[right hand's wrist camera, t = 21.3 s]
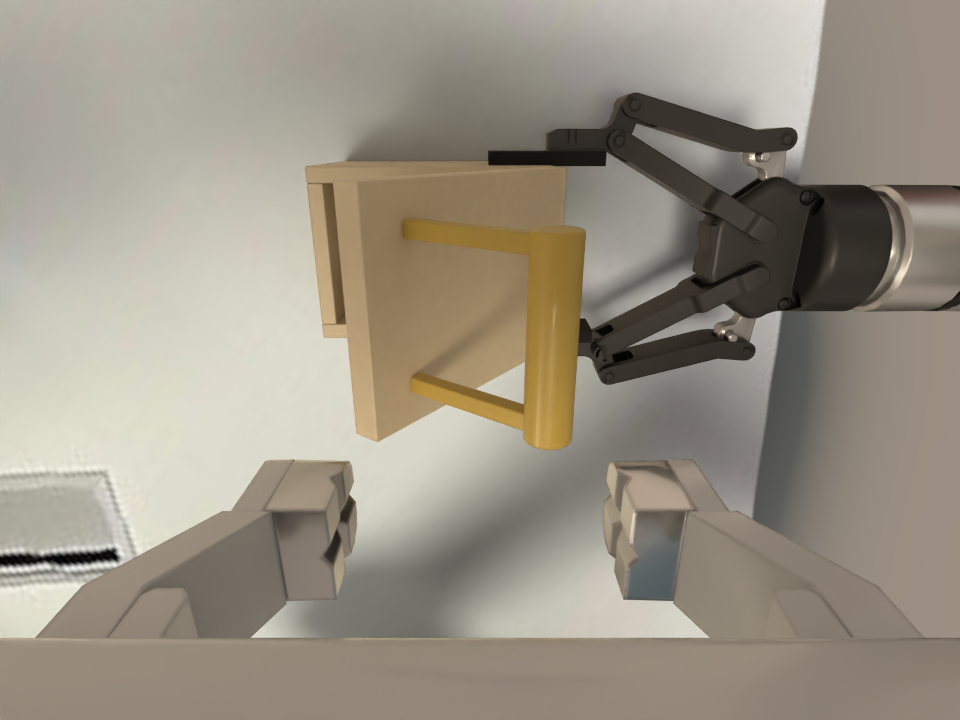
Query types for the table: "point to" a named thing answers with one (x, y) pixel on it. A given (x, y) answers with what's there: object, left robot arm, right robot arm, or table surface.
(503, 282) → the lid
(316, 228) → the chest
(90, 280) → the table surface
